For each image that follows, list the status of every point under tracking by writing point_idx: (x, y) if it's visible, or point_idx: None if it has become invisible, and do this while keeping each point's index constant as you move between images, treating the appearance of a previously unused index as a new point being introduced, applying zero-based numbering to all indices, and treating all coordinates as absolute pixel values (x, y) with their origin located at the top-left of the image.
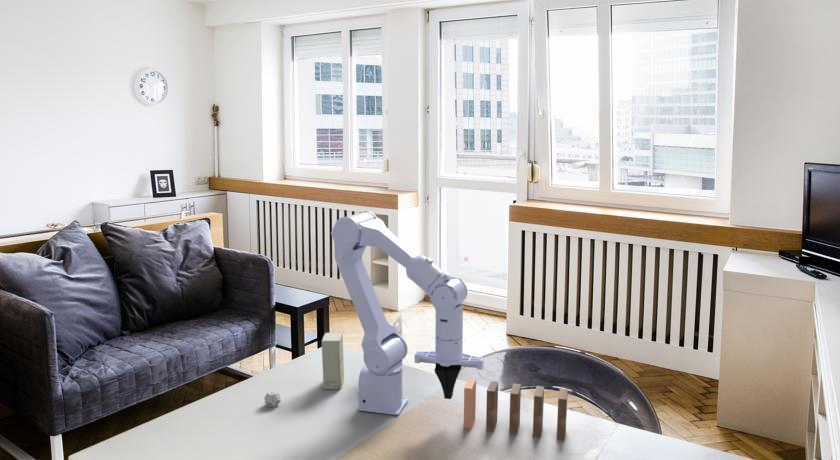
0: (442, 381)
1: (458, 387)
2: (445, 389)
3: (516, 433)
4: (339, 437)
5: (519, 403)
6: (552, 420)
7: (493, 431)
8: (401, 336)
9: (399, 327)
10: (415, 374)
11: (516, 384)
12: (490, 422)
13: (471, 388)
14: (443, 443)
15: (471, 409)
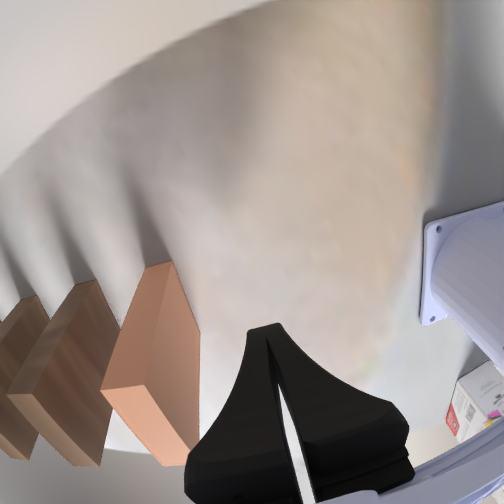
0: (312, 380)
1: None
2: (281, 352)
3: (19, 302)
4: (491, 40)
5: None
6: None
7: (74, 286)
8: None
9: None
10: (418, 420)
11: (16, 455)
12: (71, 300)
13: (104, 392)
14: (184, 111)
15: (128, 312)
